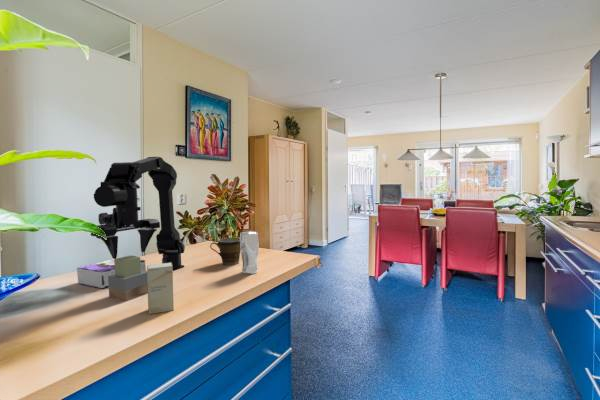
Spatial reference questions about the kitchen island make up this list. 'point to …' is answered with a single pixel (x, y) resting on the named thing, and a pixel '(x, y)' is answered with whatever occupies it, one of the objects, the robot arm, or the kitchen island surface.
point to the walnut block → (128, 293)
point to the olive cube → (127, 266)
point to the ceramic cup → (228, 250)
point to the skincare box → (160, 287)
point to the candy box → (99, 273)
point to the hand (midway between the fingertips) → (129, 255)
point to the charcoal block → (127, 281)
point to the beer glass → (249, 251)
